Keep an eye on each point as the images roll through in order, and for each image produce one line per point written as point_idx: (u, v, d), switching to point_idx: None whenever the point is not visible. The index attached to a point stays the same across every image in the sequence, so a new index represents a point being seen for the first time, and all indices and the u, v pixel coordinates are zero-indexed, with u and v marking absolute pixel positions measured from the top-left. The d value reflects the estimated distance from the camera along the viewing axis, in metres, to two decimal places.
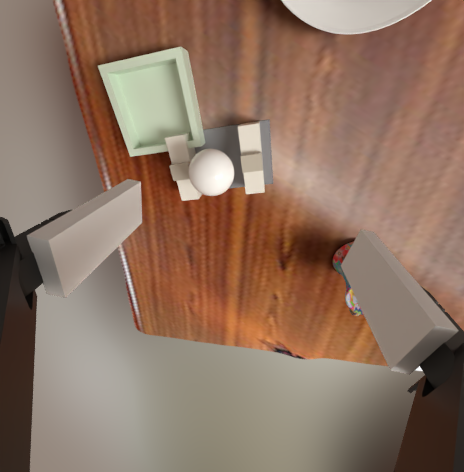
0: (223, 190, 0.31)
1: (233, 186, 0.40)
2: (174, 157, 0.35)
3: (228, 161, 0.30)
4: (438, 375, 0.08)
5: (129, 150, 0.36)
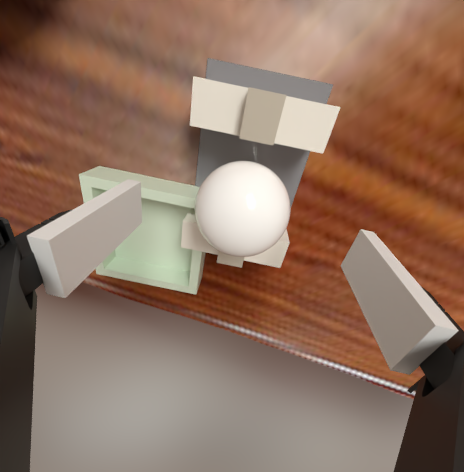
0: (281, 204, 0.13)
1: (300, 171, 0.21)
2: (210, 247, 0.22)
3: (226, 169, 0.13)
4: (438, 375, 0.08)
5: (188, 291, 0.27)
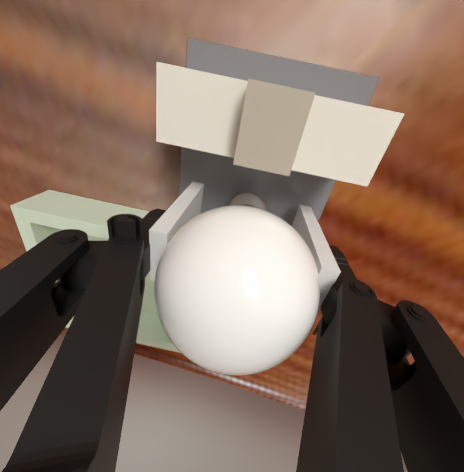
0: (309, 299, 0.07)
1: (322, 202, 0.15)
2: None
3: (205, 230, 0.07)
4: (329, 315, 0.09)
5: (171, 349, 0.20)
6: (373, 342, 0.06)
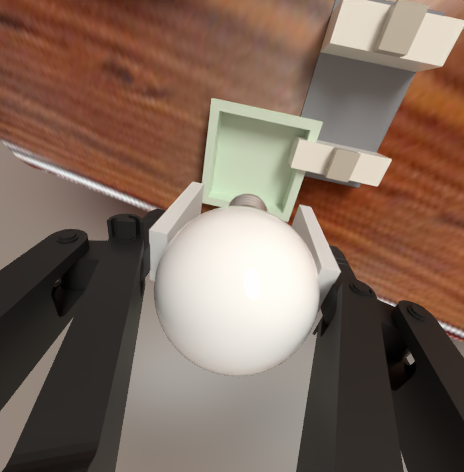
0: (308, 300, 0.07)
1: (399, 99, 0.24)
2: (318, 166, 0.25)
3: (205, 231, 0.07)
4: (329, 315, 0.09)
5: (281, 218, 0.30)
6: (373, 342, 0.06)
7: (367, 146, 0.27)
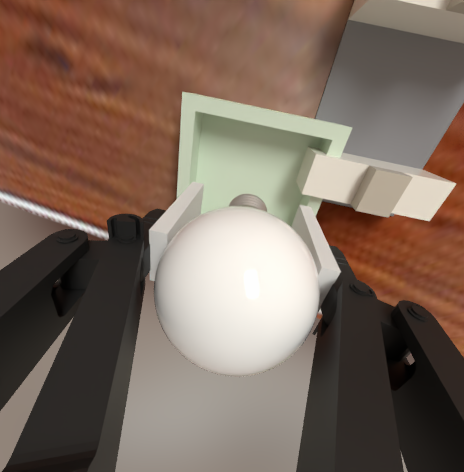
0: (308, 300, 0.07)
1: None
2: (342, 193, 0.17)
3: (205, 231, 0.07)
4: (329, 315, 0.09)
5: None
6: (373, 342, 0.06)
7: (410, 161, 0.19)
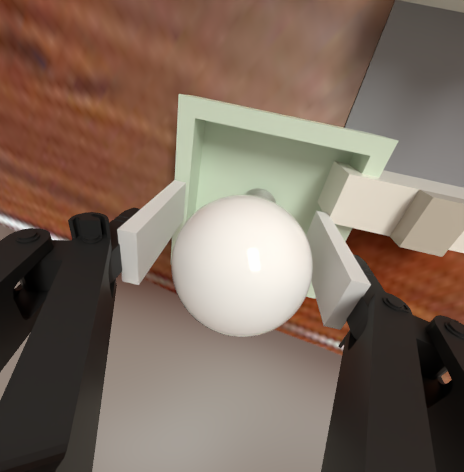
0: (298, 272, 0.08)
1: None
2: (380, 223, 0.13)
3: (215, 212, 0.09)
4: (358, 328, 0.09)
5: None
6: (407, 360, 0.06)
7: (463, 180, 0.15)
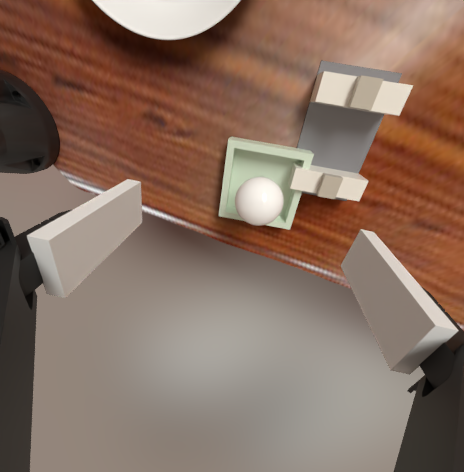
0: (278, 197, 0.27)
1: (373, 134, 0.31)
2: (311, 187, 0.32)
3: (251, 181, 0.28)
4: (438, 375, 0.08)
5: (284, 227, 0.37)
6: None
7: (351, 169, 0.34)
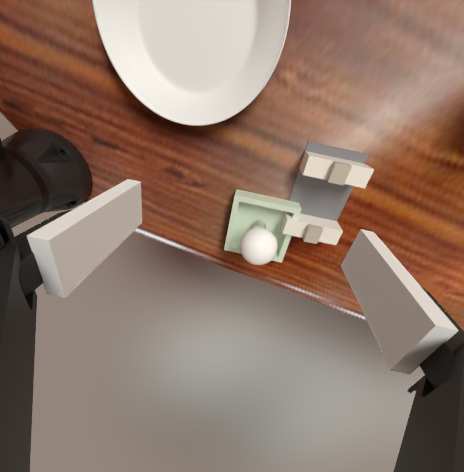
0: (273, 246, 0.36)
1: (348, 193, 0.40)
2: (299, 233, 0.41)
3: (253, 233, 0.36)
4: (438, 375, 0.08)
5: (277, 260, 0.46)
6: None
7: (331, 217, 0.43)
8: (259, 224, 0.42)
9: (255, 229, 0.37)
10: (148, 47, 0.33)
